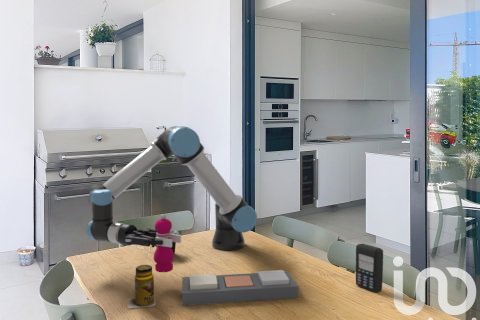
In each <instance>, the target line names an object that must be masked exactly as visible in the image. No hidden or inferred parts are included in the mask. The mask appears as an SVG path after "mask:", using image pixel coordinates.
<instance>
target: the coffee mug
mask: <svg viewBox="0 0 480 320" xmlns="http://www.w3.org/2000/svg"><path fill="white" fill-rule="evenodd" d="M170 232H171V233H170V234H177V235H178V231H177V230H175V229H174V230H173V229H171V230H170ZM176 245H177V243H176V242H172V247H171V249H172V251H173V253H174V256H176ZM155 247H156V248H157V245H155Z"/></svg>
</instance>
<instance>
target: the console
mask: <svg viewBox="0 0 480 320" xmlns="http://www.w3.org/2000/svg"><path fill="white" fill-rule="evenodd" d="M283 271H284V270H283ZM284 272H285V274H286V275H287V277H288V279H289V284H282V285H266V286H262V285H261V283H260V281H259V278H258V272H253V273H252V272H250V273H237V274H236V273H235V274H219V275H217V274H216V279H217V287H218V288H216V289H200V290H190V276H183V277H182V279H181V280H182V284H181V286H182V287H181V288H182V289H181V297H182V298H181V302H182V306H193V305H209V304H224V303H225V304H226V303H237V302H239V303H240V302H242V303H243V302H252V301H253V302H254V301H257V302H258V301H268V300H269V301H271V300H272V301H273V300H283V299H284V300H287V299H298V298H299V285H298V284H297V282H296V280H295V279H294V278H293V276H292V274H291V273H290V272H289V271H284ZM247 275H250V277H251V280H252V282H253V285H254V286H249V287H233V288H226V287H225V282H224V277H229V276H247Z"/></svg>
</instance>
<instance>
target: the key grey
mask: <svg viewBox="0 0 480 320" xmlns="http://www.w3.org/2000/svg"><path fill="white" fill-rule="evenodd" d="M257 273H258V278H259V281H260V283H261V285H262V286H266V285H282V284H289V279H288V277H287V275H286V274H285V272H284V269H278V270H277V269H276V270H261V271H260V270H259V271H257Z"/></svg>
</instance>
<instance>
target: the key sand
mask: <svg viewBox="0 0 480 320" xmlns="http://www.w3.org/2000/svg"><path fill="white" fill-rule="evenodd" d="M216 275H217V274H216V273H207V274H189V277H190V290H200V289H216V288H218V287H217V279H216Z"/></svg>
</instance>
